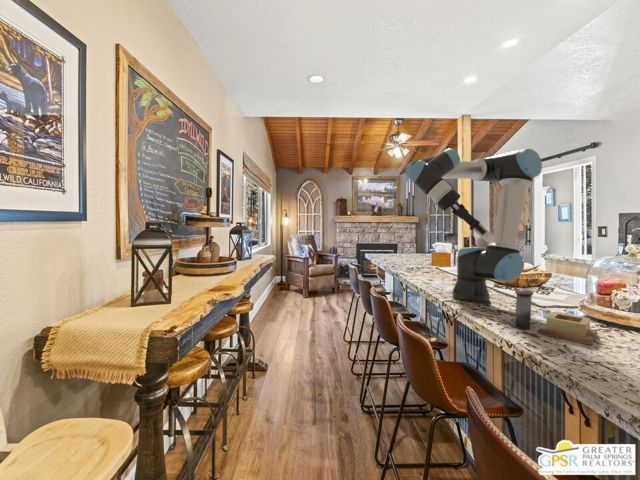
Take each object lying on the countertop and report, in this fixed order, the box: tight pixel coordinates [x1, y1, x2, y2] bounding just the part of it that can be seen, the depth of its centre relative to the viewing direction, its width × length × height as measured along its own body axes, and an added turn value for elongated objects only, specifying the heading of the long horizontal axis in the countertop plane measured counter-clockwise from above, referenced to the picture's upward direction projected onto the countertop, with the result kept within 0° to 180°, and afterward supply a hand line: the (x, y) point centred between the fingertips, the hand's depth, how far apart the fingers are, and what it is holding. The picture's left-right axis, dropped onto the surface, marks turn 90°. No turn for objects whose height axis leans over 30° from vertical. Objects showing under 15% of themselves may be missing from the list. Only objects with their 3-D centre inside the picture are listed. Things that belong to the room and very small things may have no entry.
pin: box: [514, 288, 534, 330], centre depth 100 cm, size 5×5×12 cm
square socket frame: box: [546, 311, 591, 337], centre depth 94 cm, size 9×9×4 cm
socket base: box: [538, 322, 598, 346], centre depth 94 cm, size 12×12×2 cm
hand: (491, 240), depth 103 cm, fingers open, 13 cm apart
